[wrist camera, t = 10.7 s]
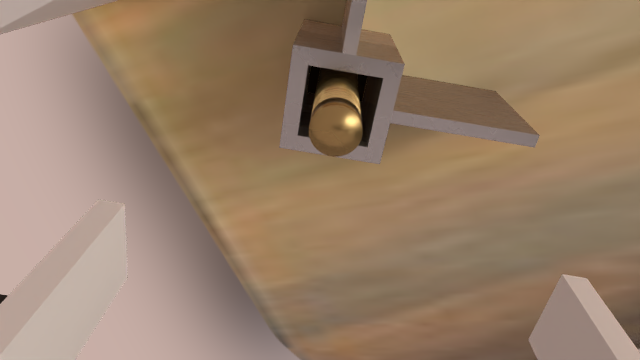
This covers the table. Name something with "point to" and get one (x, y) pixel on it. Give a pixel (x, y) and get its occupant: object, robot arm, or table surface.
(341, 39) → the hinge
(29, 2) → the milk carton
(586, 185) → the table surface
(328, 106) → the pin
